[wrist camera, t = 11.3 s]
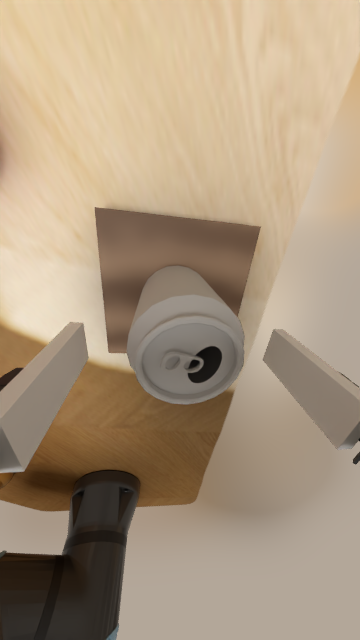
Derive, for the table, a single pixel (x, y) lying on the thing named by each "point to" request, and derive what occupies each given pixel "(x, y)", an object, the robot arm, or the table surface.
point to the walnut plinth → (166, 260)
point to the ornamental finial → (5, 478)
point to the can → (184, 338)
